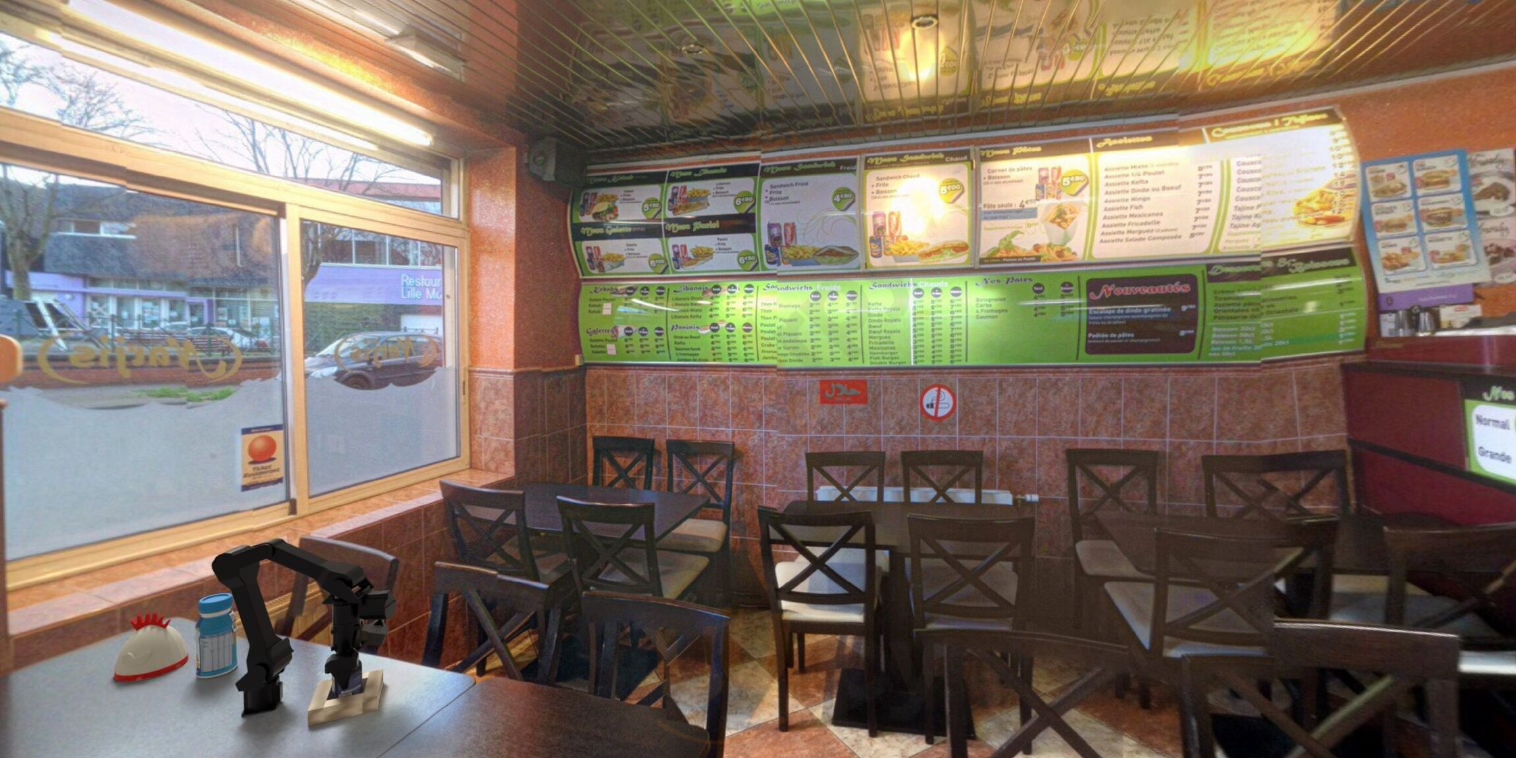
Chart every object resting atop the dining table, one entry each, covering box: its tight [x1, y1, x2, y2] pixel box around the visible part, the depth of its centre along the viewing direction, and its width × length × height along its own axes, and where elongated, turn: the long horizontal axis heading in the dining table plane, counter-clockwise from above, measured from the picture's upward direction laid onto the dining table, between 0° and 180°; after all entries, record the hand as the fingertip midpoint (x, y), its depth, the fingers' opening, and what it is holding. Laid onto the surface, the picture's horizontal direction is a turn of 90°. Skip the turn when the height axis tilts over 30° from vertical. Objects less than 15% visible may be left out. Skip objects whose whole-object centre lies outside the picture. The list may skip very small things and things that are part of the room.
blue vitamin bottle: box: [194, 592, 238, 679], centre depth 156 cm, size 8×8×20 cm
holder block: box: [307, 668, 384, 727], centre depth 144 cm, size 14×14×4 cm
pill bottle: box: [331, 650, 363, 699], centre depth 144 cm, size 6×6×11 cm
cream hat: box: [113, 611, 189, 683], centre depth 158 cm, size 14×14×15 cm
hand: (347, 682), depth 144 cm, fingers closed on pill bottle, 6 cm apart
